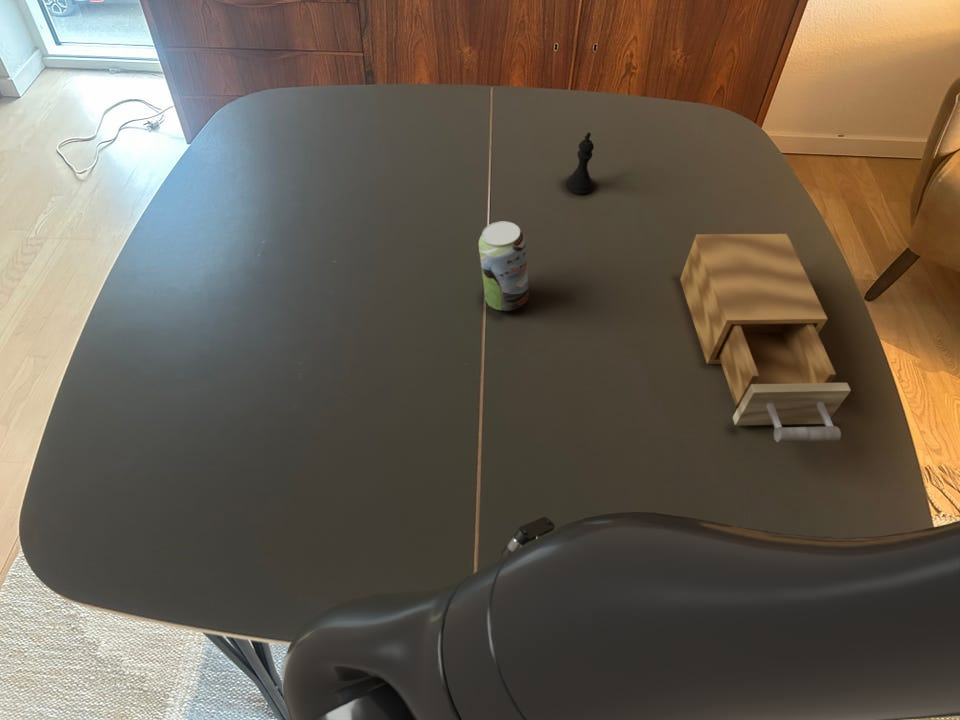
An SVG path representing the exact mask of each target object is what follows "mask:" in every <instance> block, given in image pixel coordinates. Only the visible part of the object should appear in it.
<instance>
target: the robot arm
mask: <svg viewBox="0 0 960 720" xmlns="http://www.w3.org/2000/svg"><path fill="white" fill-rule="evenodd" d="M555 527H556V525H555V523H554V522H553V520H551V519H550V518H548V517H545V516H543V517H541V518H538V519H536V520H533V521H531V522H529V523H526V524H524V525H521V526H519V527H518V528H517V530H516V531H515V533H514V534H513V535H512V537H510V539H509V541H507V543H506V544H505V546H504V547H503V549H502V550H501V555H502V556H501V557H500V558H498V559H496V560H495V561H493V562H491V563H489V564H487V565H486V566H484V567H482V568H481V569H479V570H477V571H475V572H474V573H472V574H470V575H469V576H466V577H464V578H462V579H460V580H458V581H456V582H454V583H452V584H449V585H446V586H444V587H440V588H436V589H430V590H420V591H419V590H418V591H415V590H414V591H397V592H395V591H394V592H384V593H383V592H382V593H376V594H370V595H365V596H360V597H356V598H352V599H348V600H345V601H342V602H340V603H337V604H335V605H332V606H330V607H328V608H326V609H324V610H323V611H321V612H319V613H317V614H316V615H315V616H313V617H312V618H311V619H309V620H308V621H307V622H306V623H305V624H304V625H303V626H302V627H301V628H300V629H299V630H298V631H297V633H296V634H295V636H294V637H293V639H292V640H291V642H290V644H289V646H288V648H287V650H286V653H285V655H284V658H283V659H284V660H283V662H282V668H281V676H280V677H281V689H282V690H281V691H282V694H283V699H284V703H285V706H286V709H287V712H288V716H289V719H290V720H922V719H923V720H925V719H939V718H954V717H960V520H956V521H953V522H949V523H946V524H942V525H937V526H932V527H927V528H923V529H918V530H914V531H908V532H902V533H893V534H887V535H879V536H863V537H862V536H861V537H858V536H857V537H831V536H830V537H828V536H815V535H803V534H790V533H782V532H775V531H767V530H763V529H762V530H761V529H754V528H749V527H743V526H735V525H729V524H726V523H725V524H724V523H720V522H715V521H711V520H710V521H709V520H705V519H699V518H693V517H687V516H679V515H673V514H665V513H657V512H647V511H645V512H643V511H627V512H626V511H625V512H614V513H606V514H600V515H595V516H590V517H584V518H581V519H578V520H574V521H571V522H569V523H566V524H564V525H562V526H559V527H557V528H555Z"/></svg>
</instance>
